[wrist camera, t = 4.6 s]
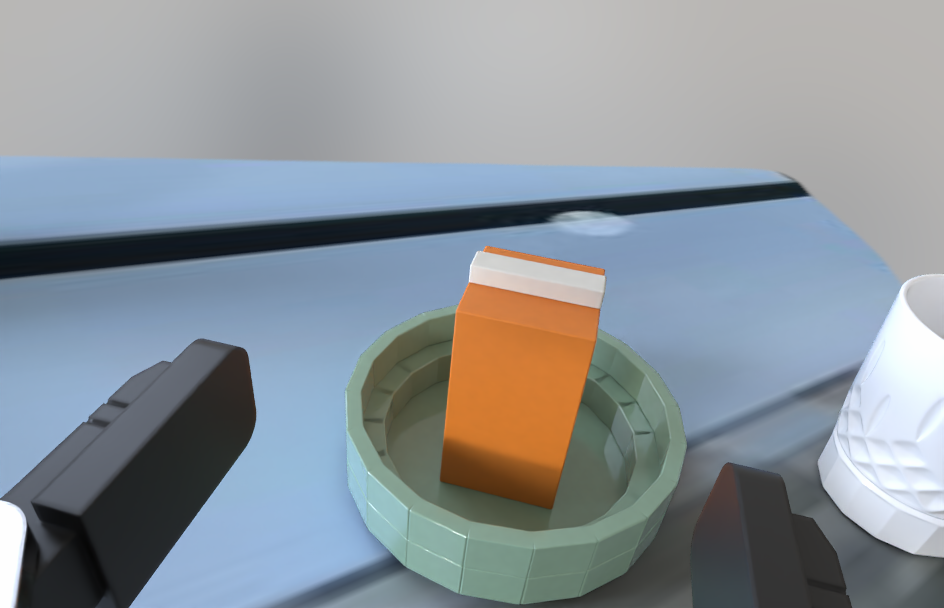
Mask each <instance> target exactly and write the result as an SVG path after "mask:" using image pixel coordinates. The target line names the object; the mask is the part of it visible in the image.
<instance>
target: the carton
mask: <svg viewBox="0 0 944 608" xmlns="http://www.w3.org/2000/svg"><path fill="white" fill-rule="evenodd" d="M604 274H605V270H604V269H601V268H596V267H591V266H585V265H580V264H575V263H570V262H565V261H560V260H555V259H550V258H545V257H540V256H535V255H530V254H525V253H520V252H515V251H510V250H505V249H500V248H495V247H490V246H486V247H485V249H484V251H477V253H476V255H475V257H474V259H473V261H472V263H471V265H470V274H469V283H468V286H467V288H466V290H465V292H464V294H463V297H462V299H461V301H460V303H459V305H458V307H457V310H456V315H455V325H454V336H453V346H452V357H451V367H450V377H449V388H448V398H447V409H446V419H445V429H444V440H443V450H442V461H441V471H440V481H441V482H445V483H449V484H453V485H457V486H461V487H465V488H469V489H473V490H477V491H480V492H484V493H488V494H492V495H496V496H500V497H504V498H508V499H512V500H516V501H520V502H524V503H528V504H531V505H535V506H539V507H543V508H547V509H552V508H553V505H554V502H555V498H556V494H557V490H558V486H559V483H560V479H561V475H562V471H563V467H564V464H565V460H566V456H567V452H568V448H569V444H570V441H571V437H572V433H573V429H574V425H575V422H576V418H577V414H578V410H579V406H580V403H581V399H582V395H583V391H584V387H585V384H586V380H587V376H588V372H589V368H590V364H591V361H592V357H593V353H594V349H595V345H596V342H597V334H598V325H599V317H600V308H601V306H602V302H603V298H604V294H605V286H606V276H604Z"/></svg>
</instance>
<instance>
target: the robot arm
mask: <svg viewBox="0 0 944 608" xmlns="http://www.w3.org/2000/svg"><path fill="white" fill-rule="evenodd" d="M255 422H256V407H255V400H254V393H253V386H252V379H251V372H250V365H249V358H248V354H247V352H246V351H245V349H243V348H241V347H237V346H233V345H228V344H224V343H220V342H215V341H211V340H207V339H197V340H195V341H194V342H192V343H191V344H190V345H189V346H188V347H187V348H186V349H185V350H184V351H183V352H182V353H181V354H180V355H179V356H178V357H177V358H176V359H175V360H174V361H173V362H172V363H171V362H167V361H161V362H159V363H157V364H156V365H154V366H152V367H150V368H148V369H146V370H144V371H142V372H140V373H138V374H137V375H135V376H133V377H131V378H130V379H129V380H128V381H127V382H126V383H125V384H124V385H123V386H122V387H120V388H119V389H118V390H117V391H116V392H115V393H114V394H113V395H112V396H111V397H110V398H109V399H108V402H107V404H104V403H103V404H102V405H101V406H100V407H99V408H98V409H97V410H96V411H95V412H94V413H93V414H92V415H90V416H89V419H88V421H87V422H86V423H85V422H83V423H82V424H81V425H80V426H79V427H78V428H76V429H75V430H74V431H73V432H72V433H71V434H70V435H69V436H68V437H67V438H66V439H65V440H64V441H63V442H61V443H60V444H59V445H58V446H57V447H56V448H55V449H54V450H53V451H52V452H51V453H50V454H49V455H48V456H46V457H45V458H44V459H43V460H42V461H41V462H40V463H39V464H38V465H37V466H36V467H35V468H34V469H33V470H31V471H30V472H29V473H28V474H27V475H26V476H25V477H24V478H23V479H22V480H21V481H20V482H19V483H18V484H16V485H15V486H14V487H13V488H12V489H11V490H10V491H9V492H8V493H6V494H5V495H4V496H3V497H2V498H0V608H129V606H130V605H131V604H132V602H133V601H134V600H135V598H136V597H137V595H138V594H139V593H140V591H141V590H142V589H143V587H144V586H145V585H146V583H147V582H148V580H149V579H150V578H151V576H152V575H153V574H154V572H155V571H156V569H157V568H158V567H159V565H160V564H161V563H162V561H163V560H164V559H165V557H166V556H167V554H168V553H169V552H170V550H171V549H172V548H173V546H174V545H175V543H176V542H177V541H178V539H179V538H180V537H181V535H182V534H183V532H184V531H185V530H186V528H187V527H188V526H189V524H190V523H191V522H192V520H193V519H194V517H195V516H196V515H197V513H198V512H199V511H200V509H201V508H202V506H203V505H204V504H205V502H206V501H207V500H208V498H209V497H210V496H211V494H212V493H213V491H214V490H215V489H216V487H217V486H218V485H219V483H220V482H221V480H222V479H223V478H224V476H225V475H226V474H227V472H228V471H229V469H230V468H231V467H232V465H233V464H234V463H235V461H236V460H237V459H238V457H239V456H240V454H241V453H242V452H243V450H244V449H245V447H246V446H247V444H248V442H249V441H250V438H251V436H252V433H253V430H254V427H255ZM690 562H691V580H692V596H693V608H852V606H851V602H850V599H849V596H848V595H846V589H847V588H846V585H845V581H844V578H843V574H842V570H841V567H840V563H839V560H838V556H837V553H836V551H835V550H834V548H833V547H832V545H831V544H830V543H829V541H828V540H827V538H826V537H825V535H824V534H823V532H822V531H821V530H820V528H819V527H818V525H817V524H816V522H815V521H814V519H813V518H809V517H805V516H801V515H796V514H792V513H791V509H790V504H789V500H788V496H787V491H786V487H785V483H784V480H783V478H782V477H781V475H779V474H777V473H772V472H768V471H764V470H759V469H755V468H751V467H747V466H742V465H738V464H734V463H729V462H728V463H726V464H725V465H724V466H723V468H722V470H721V472H720V474H719V476H718V478H717V480H716V482H715V485H714V487H713V489H712V491H711V493H710V495H709V497H708V500H707V502H706V504H705V506H704V508H703V510H702V512H701V515H700V517H699V519H698V521H697V524H696V526H695V530H694V534H693V538H692V545H691V559H690Z"/></svg>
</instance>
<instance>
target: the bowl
mask: <svg viewBox="0 0 944 608" xmlns="http://www.w3.org/2000/svg"><path fill="white" fill-rule="evenodd" d="M458 305H459V304H458ZM458 305H454V306H450V307H445V308H441V309H437V310H432V311H428V312H424V313H422V314H419V315H417V316H415V317H413V318H411V319H409V320H407V321H405V322H403V323H401V324H399V325H397V326H395V327H393V328H391V329H389V330H388V331H386V332H385V333H384V334H382V335H381V336H380V337H379V338H378V339H377V340H376V341H375V342H374V343H373V344H372V345H371V346H370V347H369V348H368V349H367V350H366V351H365V352H364V353H363V354H362V355H361V356H360V358H359V360H358V362H357V364H356V367H355V369H354V371H353V373H352V376H351V378H350V380H349V383H348V385H347V387H346V389H345V412H346V444H347V475H348V487H349V490H350V492H351V494H352V496H353V498H354V501H355V503H356V505H357V507H358V509H359V511H360V514H361V516H362V518H363V520H364V522H365V525H366V527H367V528H368V530H369V531H370V532H371V533H372V534H373V535H374V536H375V537H376V538H377V539H378V540H379V541H380V542H381V543H382V544H383V545H384V546H385V547H386V548H387V549H388V550H389V551H390V552H391V553H392V554H393V555H394V556H395V557H396V558H397V559H398V560H399V561H400V562H401V563H402V564H403V565H404V566H406V567H407V568H408V569H410V570H412V571H414V572H416V573H418V574H420V575H422V576H424V577H426V578H428V579H430V580H432V581H434V582H436V583H438V584H440V585H441V586H443V587H445V588H447V589H449V590H451V591H453V592H455V593H457V594H459V593H460V594H461V595H466V596H472V597H477V598H483V599H489V600H494V601H500V602H506V603H511V604H517V605H520V603H521V604H522V605H523V604H530V603H538V602H545V601H553V600H560V599H568V598H575V597H578V596H579V597H580V596H582V595H584V594H586V593H588V592H590V591H592V590H594V589H596V588H598V587H600V586H602V585H604V584H606V583H608V582H609V581H611V580H613V579H615V578H617V577H619V576H621V575H623V574H625V572H627V571H628V570H629V568H630V567H631V566H632V565H633V564H634V562H635V561H636V560H637V559H638V558H639V556H640V555H641V554H642V553H643V552H644V550H645V549H646V548H647V547H648V546H649V544H650V543H651V542H652V541H653V540H654V538H655V536H656V534H657V532H658V529H659V527H660V525H661V522H662V520H663V518H664V515H665V513H666V510H667V508H668V506H669V503H670V501H671V499H672V496H673V494H674V492H675V489H676V487H677V485H678V482H679V478H680V474H681V470H682V466H683V462H684V458H685V454H686V449H687V442H686V437H685V432H684V427H683V422H682V418H681V413H680V408H679V406H678V404H677V402H676V401H675V399H674V398H673V396H672V394H671V393H670V391H669V390H668V388H667V387H666V385H665V383H664V382H663V380H662V379H661V377H660V375H659V374H658V373H657V372H656V371H655V370H654V369H653V368H652V367H651V366H650V365H649V364H648V363H647V362H645V361H644V360H643V359H642V358H641V357H640V356H639V355H638V354H637V353H635V352H634V351H633V350H632V349H631V348H630V347H629V346H628V345H626V344H625V343H624V342H622V341H620V340H618V339H617V338H615V337H613V336H611V335H609V334H608V333H606V332H604V331H602V330H601V329H599V328H598V334H597V342H596V345H595V349H594V353H593V357H592V361H591V364H590V368H589V372H588V376H587V380H586V384H585V387H584V391H583V395H582V399H581V403H580V406H579V410H578V414H577V418H576V422H575V425H574V429H573V433H572V437H571V441H570V444H569V448H568V452H567V456H566V460H565V464H564V467H563V471H562V475H561V479H560V483H559V486H558V490H557V494H556V498H555V502H554V505H553V508H552V509H547V508H543V507H539V506H535V505H531V504H528V503H524V502H520V501H516V500H512V499H508V498H504V497H500V496H496V495H492V494H488V493H484V492H480V491H477V490H473V489H469V488H465V487H461V486H457V485H453V484H449V483H445V482H441V481H440V471H441V461H442V450H443V440H444V429H445V419H446V409H447V398H448V388H449V377H450V367H451V357H452V346H453V336H454V325H455V315H456V310H457V307H458Z"/></svg>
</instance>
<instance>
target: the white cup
mask: <svg viewBox="0 0 944 608" xmlns="http://www.w3.org/2000/svg"><path fill="white" fill-rule="evenodd" d="M818 467H819V472H820V477H821V481H822V485H823V487H824V489H825V490H826V492H827V493H828V494H829V495H830V497H831V498H832V499H833V501H834V502H835V503H836V505H837V506H838V507H839V509H840V510H841V511H842V513H843V514H845V515H846V516H847V517H849V518H850V519H851V520H852V521H854V522H855V523H856V524H858V525H859V526H860V527H862V528H863V529H864V530H866V531H867V532H868V533H870V534H871V535H872V536H874V537H875V538H877V539H879V540H882V541H884V542H886V543H888V544H891V545H893V546H895V547H897V548H900V549H902V550H904V551H907V552H909V553H911V554H916V555H924V556H933V557H943V558H944V274H927V275H920V276H916V277H913V278H911V279H909V280H908V281H906V282H905V283H904V284H903V285H902V287H901V289H900V291H899V293H898V295H897V297H896V299H895V301H894V303H893V305H892V307H891V309H890V311H889V313H888V315H887V317H886V319H885V321H884V323H883V325H882V327H881V329H880V331H879V333H878V334H877V336H876V338H875V340H874V342H873V344H872V346H871V348H870V350H869V352H868V354H867V356H866V358H865V360H864V362H863V364H862V366H861V368H860V370H859V372H858V374H857V376H856V378H855V380H854V382H853V384H852V386H851V388H850V390H849V392H848V395H847V397H846V399H845V402H844V405H843V407H842V408H841V410H840V412H839V417H838V422H837V424H836V426H835V428H834V431H833V433H832V435H831V437H830V439H829V441H828V443H827V444H826V446H825V448H824V450H823V452H822V454H821V456H820V458H819V460H818Z"/></svg>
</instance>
